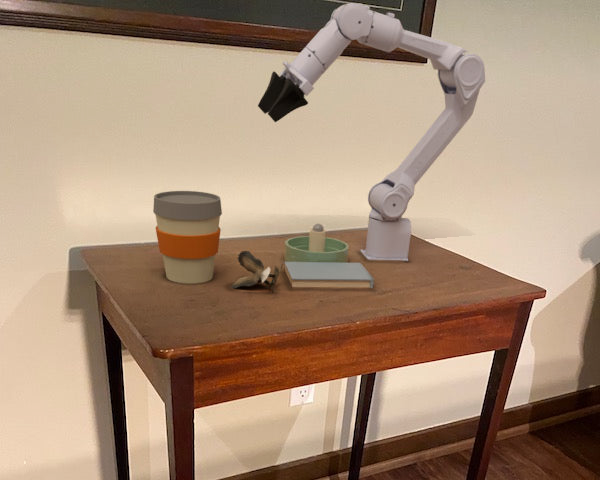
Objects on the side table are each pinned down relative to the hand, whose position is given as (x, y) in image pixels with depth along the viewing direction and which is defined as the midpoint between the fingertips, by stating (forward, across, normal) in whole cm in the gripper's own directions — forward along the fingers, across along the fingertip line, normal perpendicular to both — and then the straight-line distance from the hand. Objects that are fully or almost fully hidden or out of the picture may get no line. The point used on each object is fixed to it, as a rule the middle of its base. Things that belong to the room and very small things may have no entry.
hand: (266, 114), depth 122 cm
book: (+14, +22, +24) cm, 35 cm away
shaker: (+13, +9, +26) cm, 31 cm away
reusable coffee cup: (+32, +15, +5) cm, 36 cm away
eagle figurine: (+24, +24, +12) cm, 36 cm away
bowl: (+14, +9, +26) cm, 31 cm away
